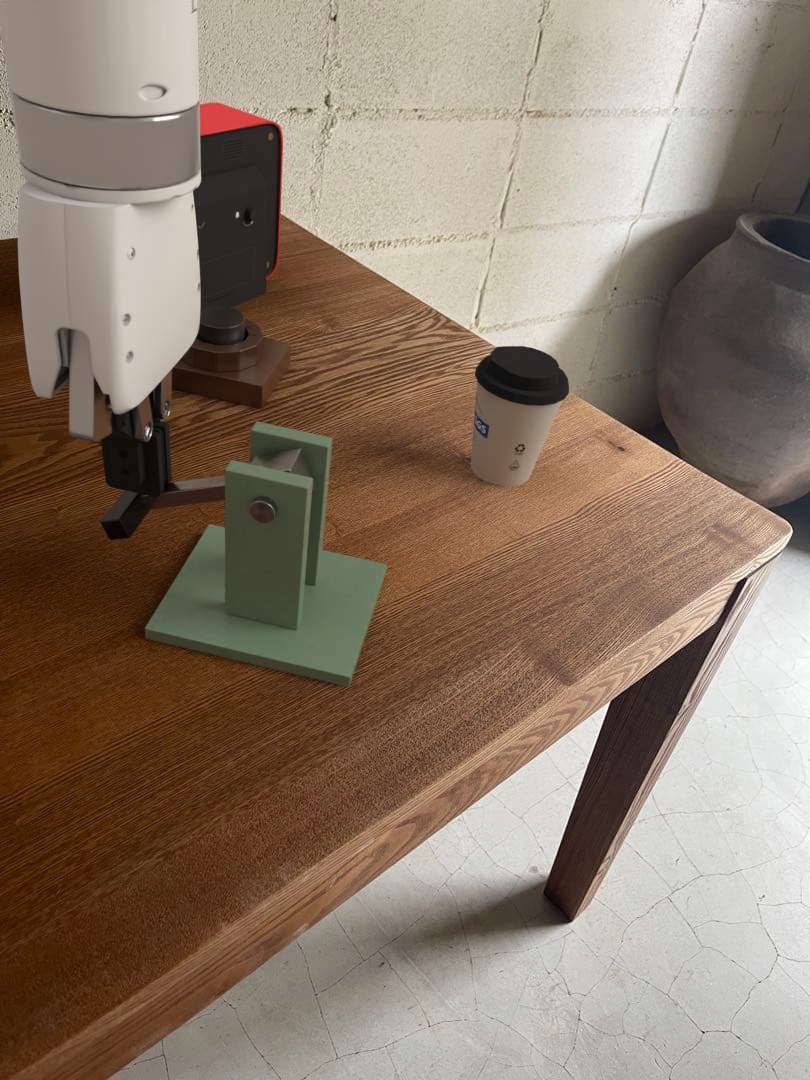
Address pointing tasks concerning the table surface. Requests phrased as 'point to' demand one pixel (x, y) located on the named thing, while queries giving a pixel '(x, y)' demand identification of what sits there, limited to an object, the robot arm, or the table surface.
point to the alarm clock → (237, 204)
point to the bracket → (273, 573)
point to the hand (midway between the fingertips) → (139, 483)
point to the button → (221, 326)
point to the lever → (189, 493)
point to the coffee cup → (514, 412)
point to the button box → (234, 368)
